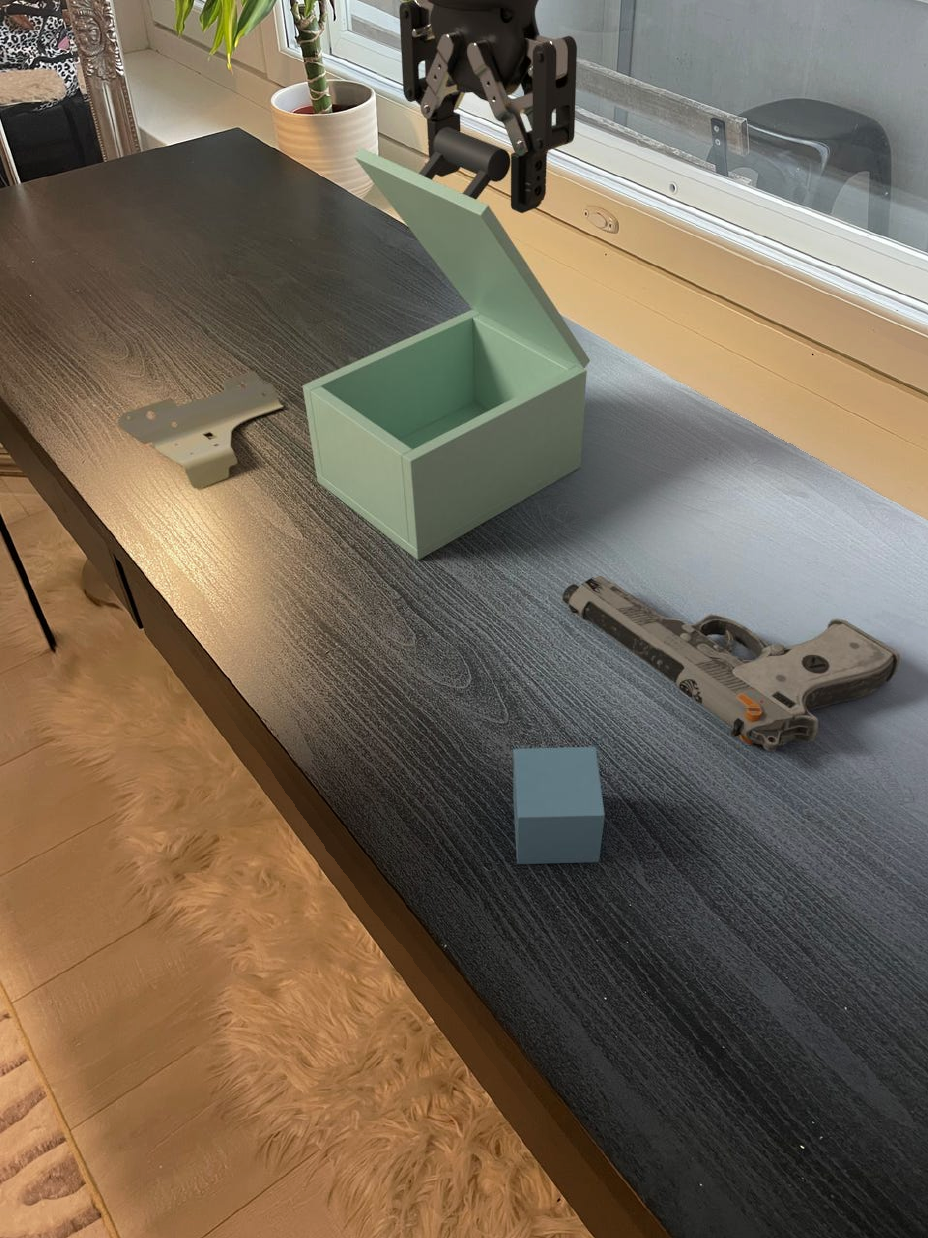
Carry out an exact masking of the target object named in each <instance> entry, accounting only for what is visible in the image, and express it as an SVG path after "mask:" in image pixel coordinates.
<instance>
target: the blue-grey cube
mask: <svg viewBox="0 0 928 1238" xmlns="http://www.w3.org/2000/svg"><path fill="white" fill-rule="evenodd" d="M512 777H513V778H512V779H513V781H512V783H513V785H512V787H513V788H512V798H513V799H512V800H513V817H514V819H513V820H514V836H515V837H514V839H515V851H516V853H515V854H516V856H515V857H516V865H539V864H540V865H541V864H543V865H544V864H576V863H578V864H581V863H582V864H584V863H599V862H600V858H601V849H602V841H603V834H604V825H605V817H606V813H605V805H604V797H603V790H602V783H601V775H600V767H599V760H598V752H597V747H596V746H574V747H573V746H572V747H537V748H536V747H535V748H514V749H513V776H512Z"/></svg>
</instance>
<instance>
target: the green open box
mask: <svg viewBox="0 0 928 1238" xmlns="http://www.w3.org/2000/svg"><path fill="white" fill-rule="evenodd" d="M587 373H588V371H587V369H586V368H582V367H580V366H578V365H576V364H574V363H573V362H571V361H569V360H567V359H565V358H563V357H561V356H560V355H558V354H556V353H554V352H552V351H550V350H549V349H547V348H545V347H543V346H541V345H539V344H537V343H536V342H534V341H532V340H530V339H528V338H526V337H524V336H523V335H521V334H519V333H517V332H515V331H513V330H512V329H510V328H508V327H506V326H504V325H502V324H500V323H499V322H497V321H495V320H493V319H491V318H489V317H487V316H486V315H484V314H482V313H480V312H478V311H476V310H475V309H473V308H472V309H470V310H468V311H466V312H464V313H461V314H460V315H457V316H455V317H452V318H451V319H448V320H446V321H444V322H441V323H439V324H437V325H434V326H432V327H430V328H428V329H425V330H423V331H421V332H419V333H417V334H415V335H412V336H410V337H408V338H405V339H403V340H401V341H399V342H397V343H395V344H392V345H390V346H388V347H386V348H383V349H381V350H378V351H376V352H374V353H372V354H370V355H368V356H365V357H363V358H361V359H359V360H356V361H354V362H352V363H349V364H347V365H345V366H343V367H340V368H339V369H336V370H334V371H332V372H329V373H327V374H325V375H323V376H321V377H318V378H316V379H314V380H311V381H310V382H307V383H304V384H303V385H302V391H303V392H302V393H303V397H304V405H305V410H306V416H307V425H308V430H309V431H308V432H309V438H310V442H311V449H312V455H313V462H314V469H315V473H316V479H317V483H318V484H319V485H320V486H322V487H324V488H325V489H326V490H327V491H328V492H330V493H331V494H333V495H334V496H335V497H336V498H338V499H339V500H340V501H341V502H343V503H344V504H345V505H346V506H348V507H349V508H350V509H352V510H353V511H354V512H355V513H357V514H358V515H359V516H361V517H362V518H363V519H365V521H367V522H368V523H370V524H371V525H372V526H373V527H375V528H376V529H377V530H379V531H380V532H381V533H382V534H383V535H385V536H386V537H388V538H389V539H390V540H391V541H393V542H394V543H395V544H396V545H398V546H399V547H400V548H402V549H403V550H404V551H405V552H407V553H408V554H409V555H410V556H412V557H413V558H415V560H417V561H420V560H421V559H424V558H425V557H426V556H428V555H430V554H433V552H436V551H437V550H439V549H441V548H443V547H444V546H446V545H448V544H450V543H451V542H453V541H455V540H457V539H458V538H460V537H462V536H464V535H465V534H466V533H467V534H468V532H470V531H473V530H474V529H476V528H477V527H479V526H481V525H483V524H484V523H487V522H488V521H490V520H491V519H493V518H494V517H497V516H498V515H499V514H502V513H503V512H505V511H507V510H508V509H510V508H512V507H514V506H515V505H517V504H519V503H521V502H523V501H524V500H526V499H528V498H530V497H531V496H533V495H535V494H536V493H538V492H540V491H541V490H544V489H545V488H547V487H549V486H550V485H552V484H554V483H555V482H557V481H559V480H561V479H562V478H565V477H566V476H568V475H569V474H571V473H573V472H575V471H576V470H578V469H580V468H581V464H582V463H581V461H582V449H583V432H584V420H585V419H584V417H585V402H586V389H587V388H586V386H587Z"/></svg>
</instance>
